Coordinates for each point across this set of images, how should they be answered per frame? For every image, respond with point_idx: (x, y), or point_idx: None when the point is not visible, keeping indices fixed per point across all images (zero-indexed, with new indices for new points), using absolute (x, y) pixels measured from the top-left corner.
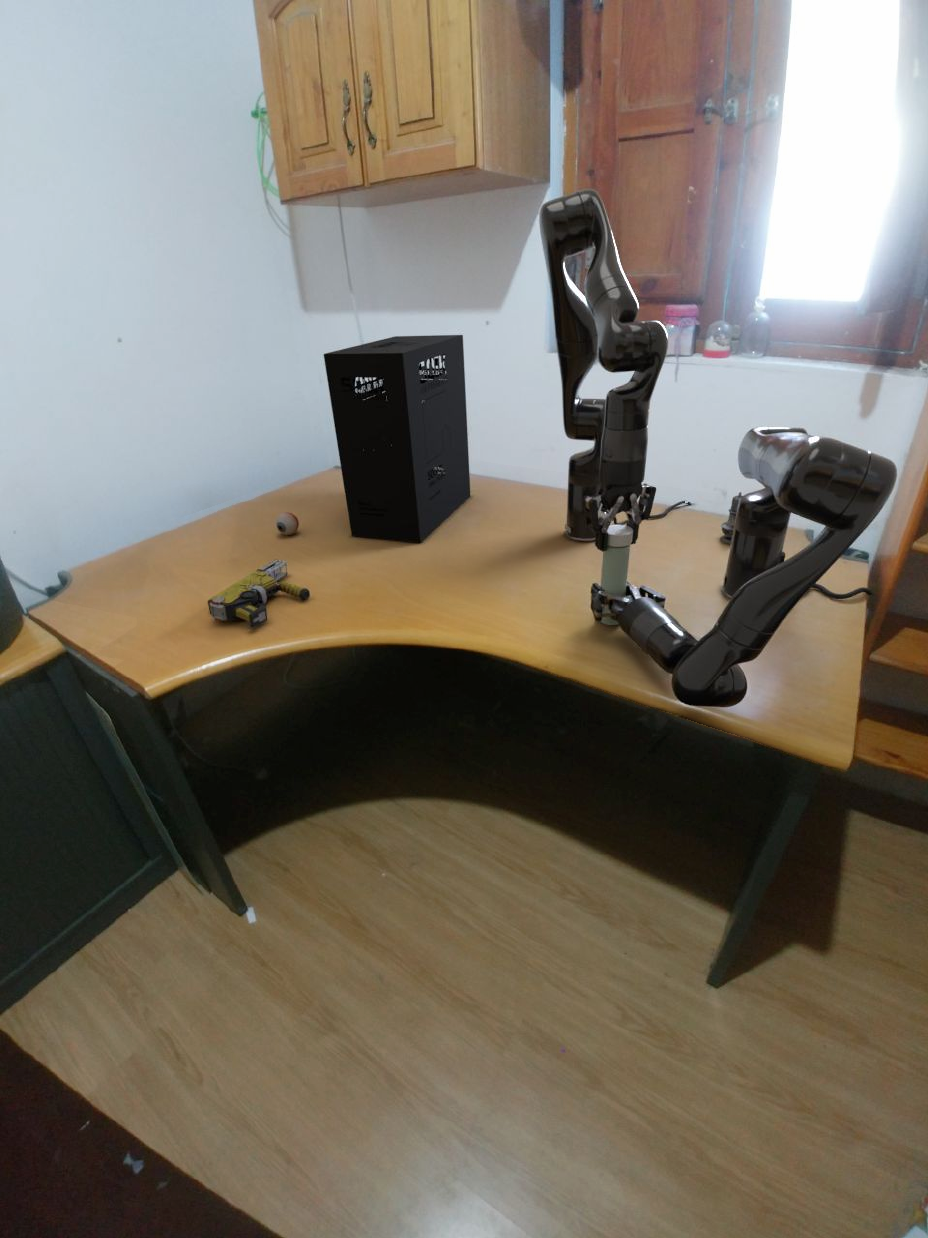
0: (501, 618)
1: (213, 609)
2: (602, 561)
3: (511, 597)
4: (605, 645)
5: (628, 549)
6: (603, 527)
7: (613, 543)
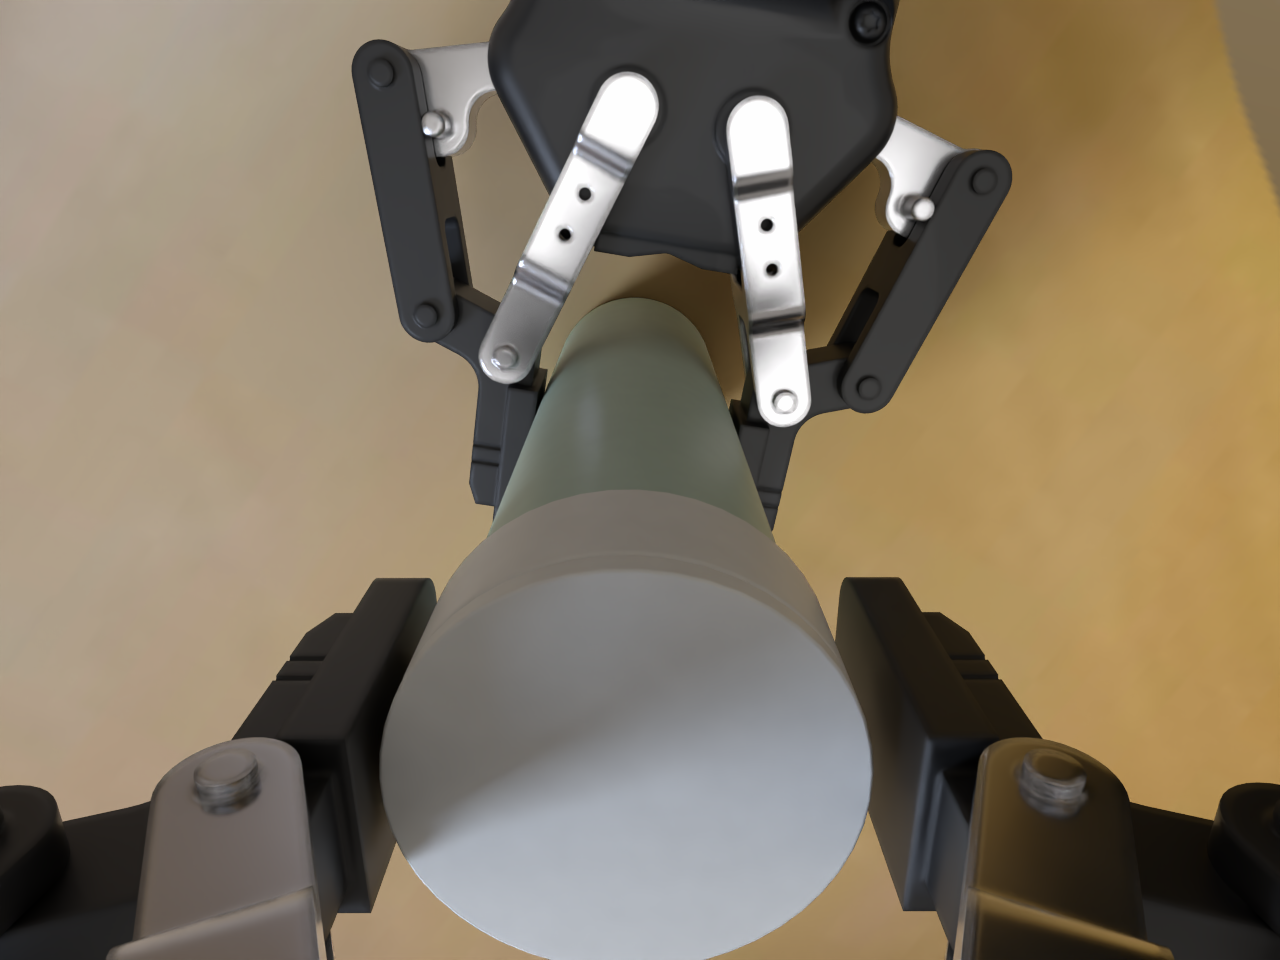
0: (1157, 664)
1: None
2: None
3: None
4: None
5: (550, 494)
6: (1113, 818)
7: (801, 581)
